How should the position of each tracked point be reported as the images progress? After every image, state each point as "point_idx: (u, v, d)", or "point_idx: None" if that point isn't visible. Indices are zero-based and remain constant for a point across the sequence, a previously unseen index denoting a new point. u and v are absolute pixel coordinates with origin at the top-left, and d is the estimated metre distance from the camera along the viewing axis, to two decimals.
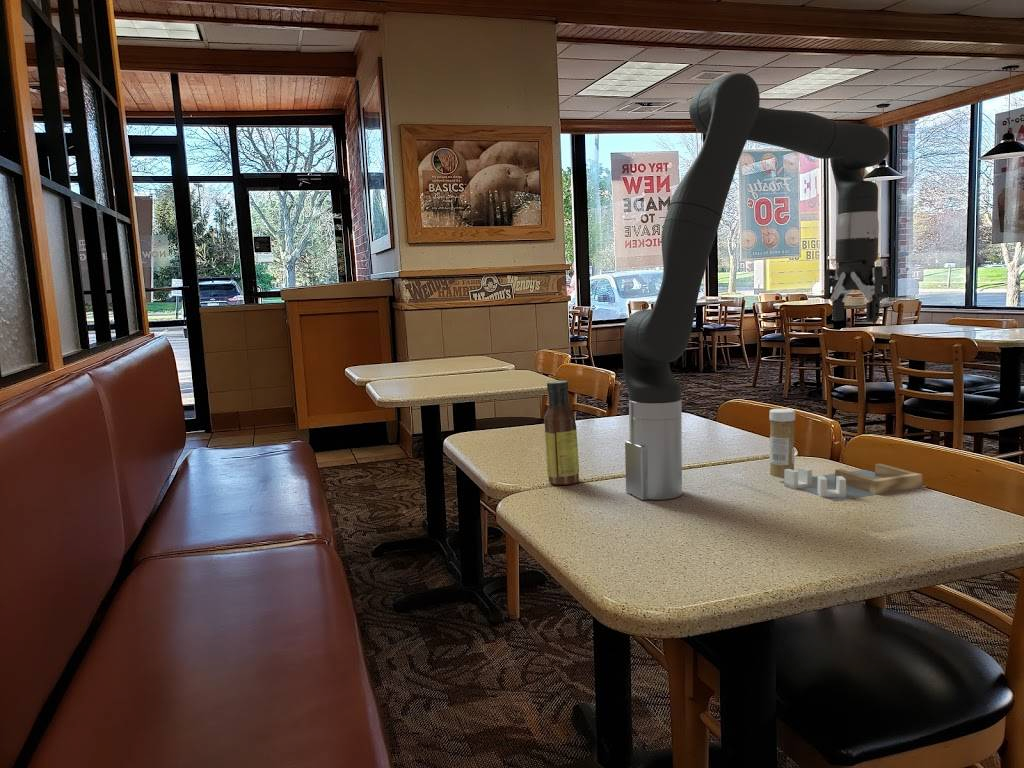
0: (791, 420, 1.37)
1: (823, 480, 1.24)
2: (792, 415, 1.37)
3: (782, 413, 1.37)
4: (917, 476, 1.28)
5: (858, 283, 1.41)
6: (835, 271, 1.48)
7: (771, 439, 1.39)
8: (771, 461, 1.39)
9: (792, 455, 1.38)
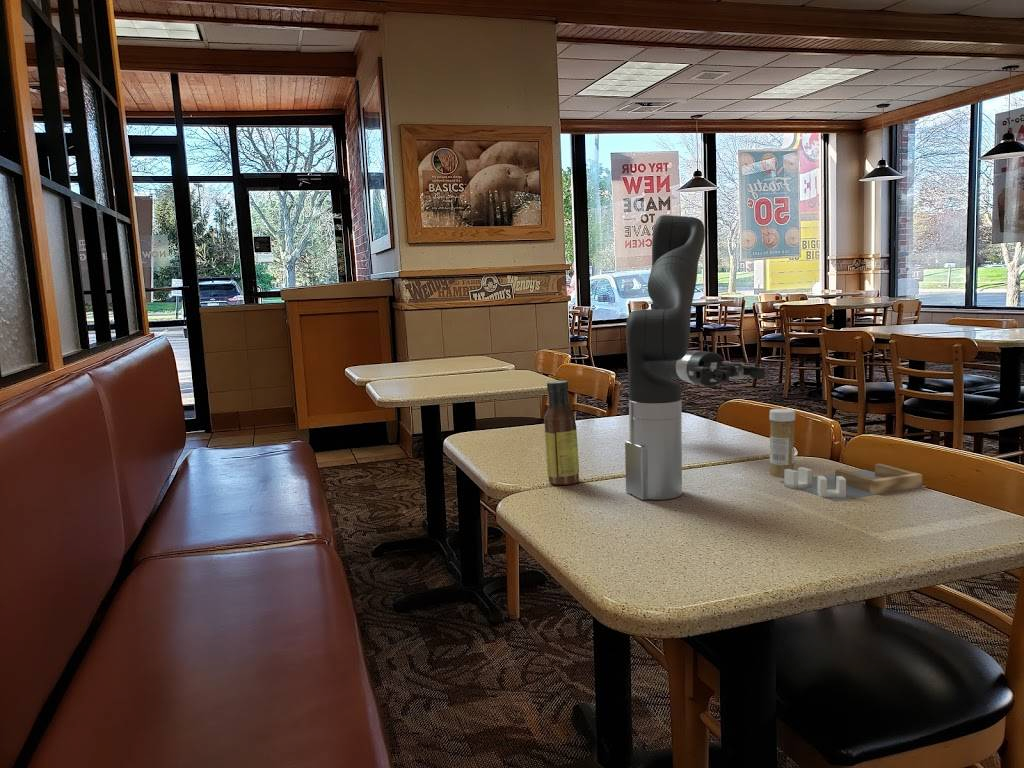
0: (791, 420, 1.37)
1: (823, 480, 1.24)
2: (792, 415, 1.37)
3: (782, 413, 1.37)
4: (917, 476, 1.28)
5: None
6: None
7: (771, 439, 1.39)
8: (771, 461, 1.39)
9: (792, 455, 1.38)
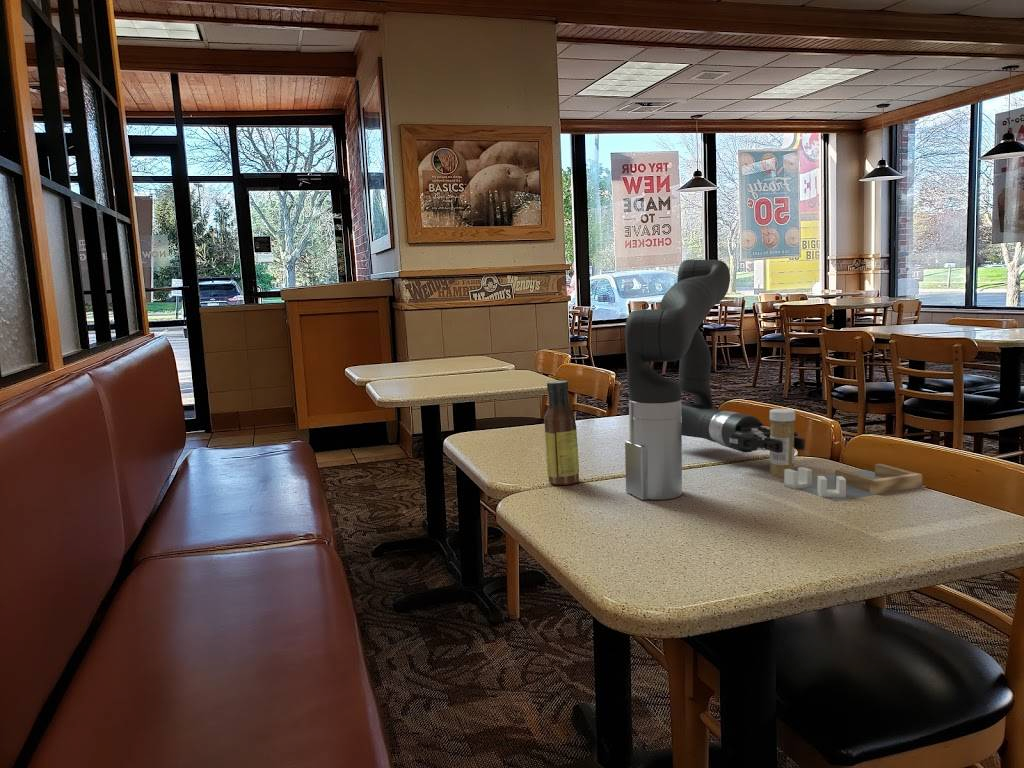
0: (791, 420, 1.37)
1: (823, 480, 1.24)
2: (792, 415, 1.37)
3: (782, 413, 1.37)
4: (917, 476, 1.28)
5: None
6: None
7: None
8: (771, 461, 1.39)
9: (792, 455, 1.38)
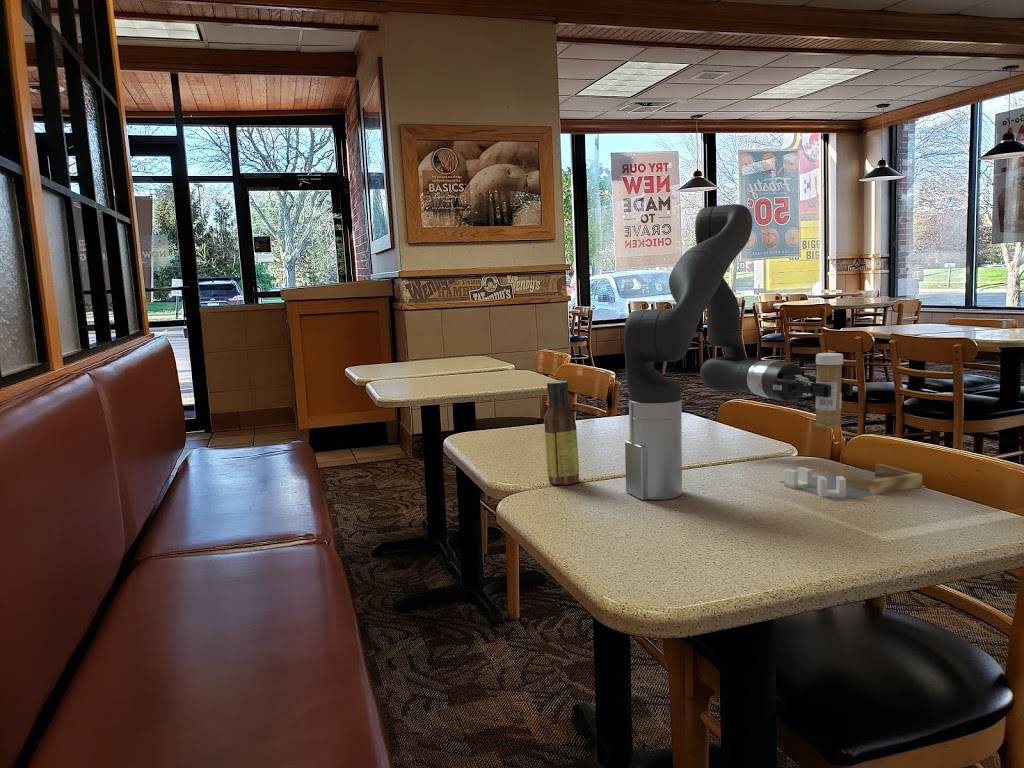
0: (839, 363, 1.32)
1: (823, 480, 1.24)
2: (840, 359, 1.32)
3: (830, 356, 1.31)
4: (917, 476, 1.28)
5: None
6: None
7: None
8: (817, 407, 1.34)
9: (839, 400, 1.33)
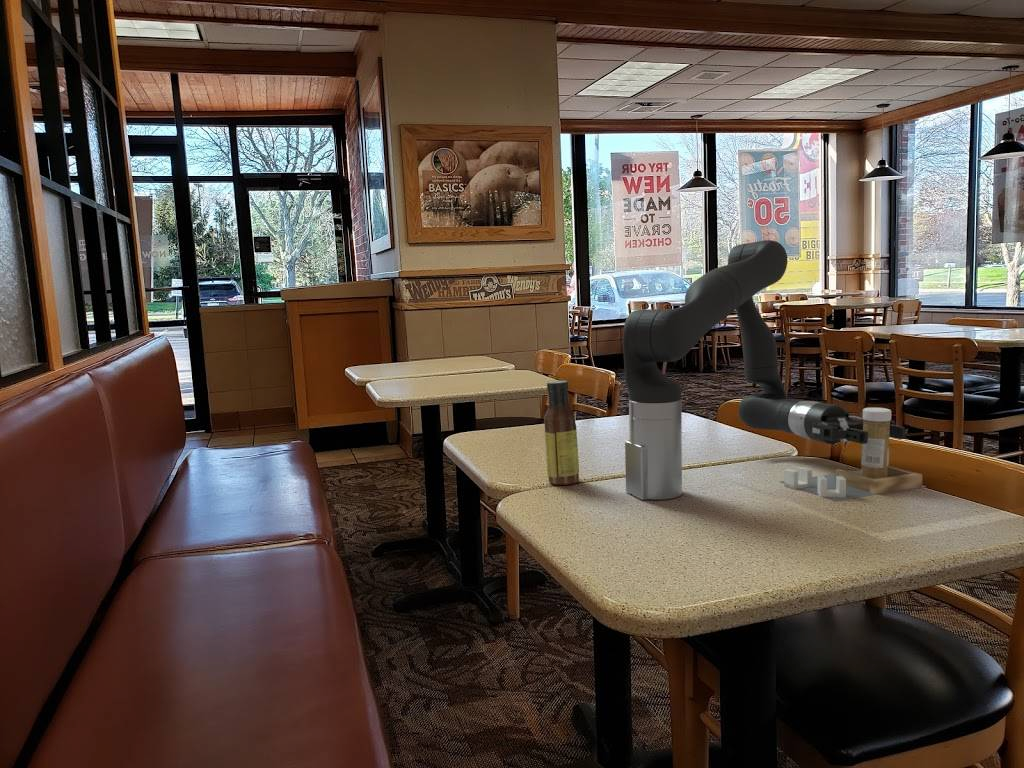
0: (887, 420, 1.28)
1: (823, 480, 1.24)
2: (889, 415, 1.28)
3: (878, 412, 1.28)
4: (917, 476, 1.28)
5: None
6: None
7: None
8: (863, 463, 1.31)
9: (887, 457, 1.29)
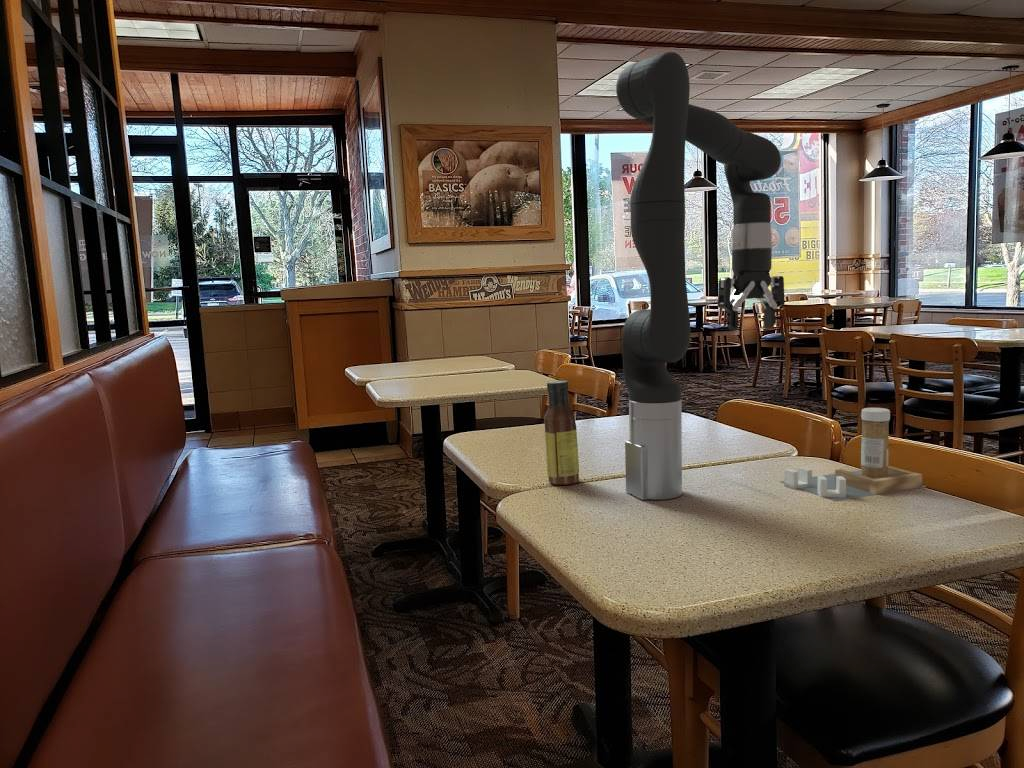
0: (886, 420, 1.28)
1: (823, 480, 1.24)
2: (887, 415, 1.28)
3: (877, 412, 1.28)
4: (917, 476, 1.28)
5: (766, 292, 1.47)
6: (732, 280, 1.45)
7: (863, 440, 1.30)
8: (863, 463, 1.31)
9: (886, 457, 1.29)
